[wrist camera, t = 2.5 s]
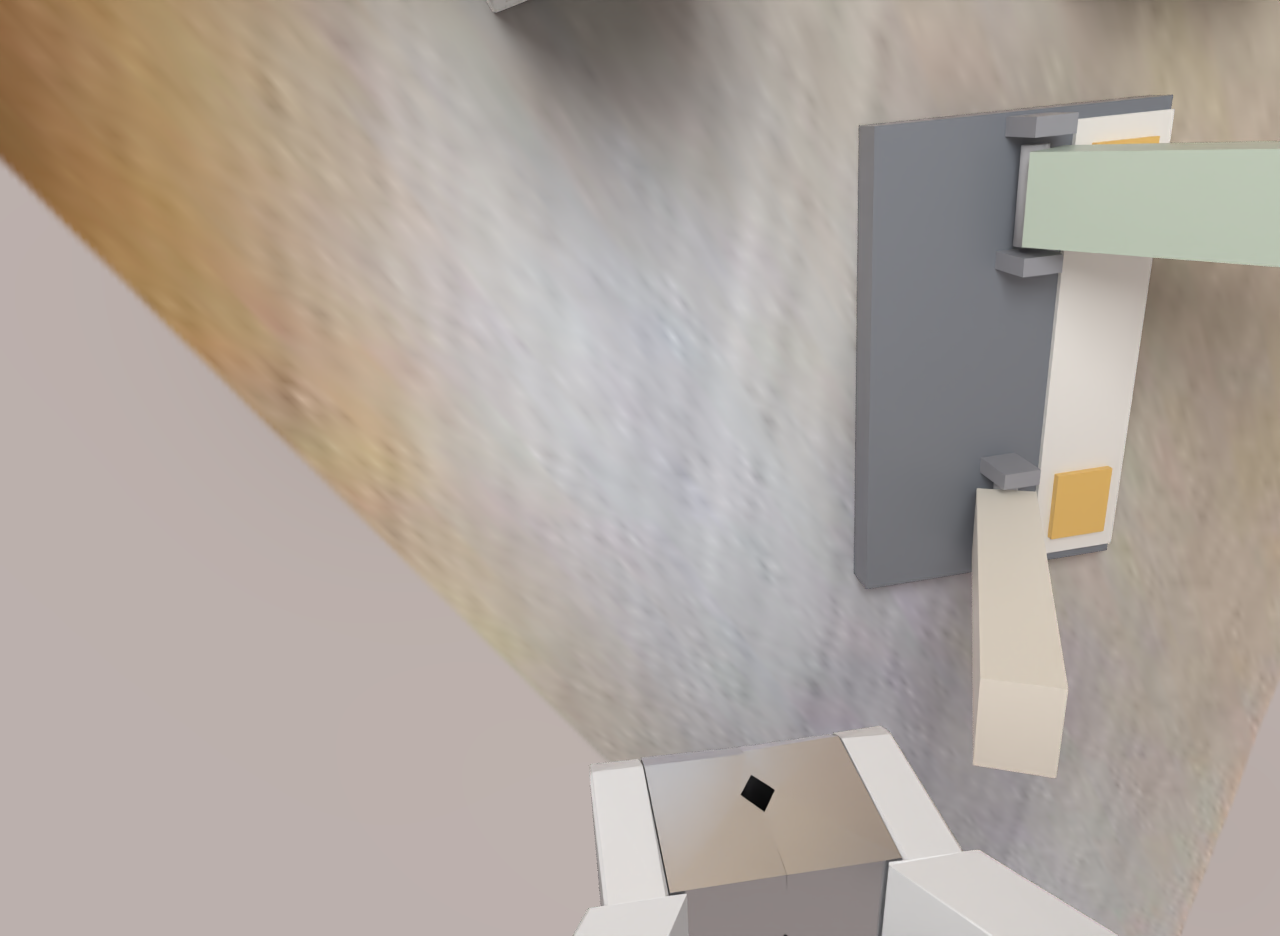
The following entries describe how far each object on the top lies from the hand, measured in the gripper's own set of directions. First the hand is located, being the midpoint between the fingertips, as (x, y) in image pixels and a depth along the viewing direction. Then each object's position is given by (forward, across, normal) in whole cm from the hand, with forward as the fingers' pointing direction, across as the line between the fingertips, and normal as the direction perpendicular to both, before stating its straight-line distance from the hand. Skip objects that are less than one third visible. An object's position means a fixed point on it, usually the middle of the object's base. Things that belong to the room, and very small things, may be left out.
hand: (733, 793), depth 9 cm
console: (+27, -18, +4) cm, 33 cm away
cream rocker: (+25, -18, +11) cm, 33 cm away
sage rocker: (+25, -18, -2) cm, 31 cm away
